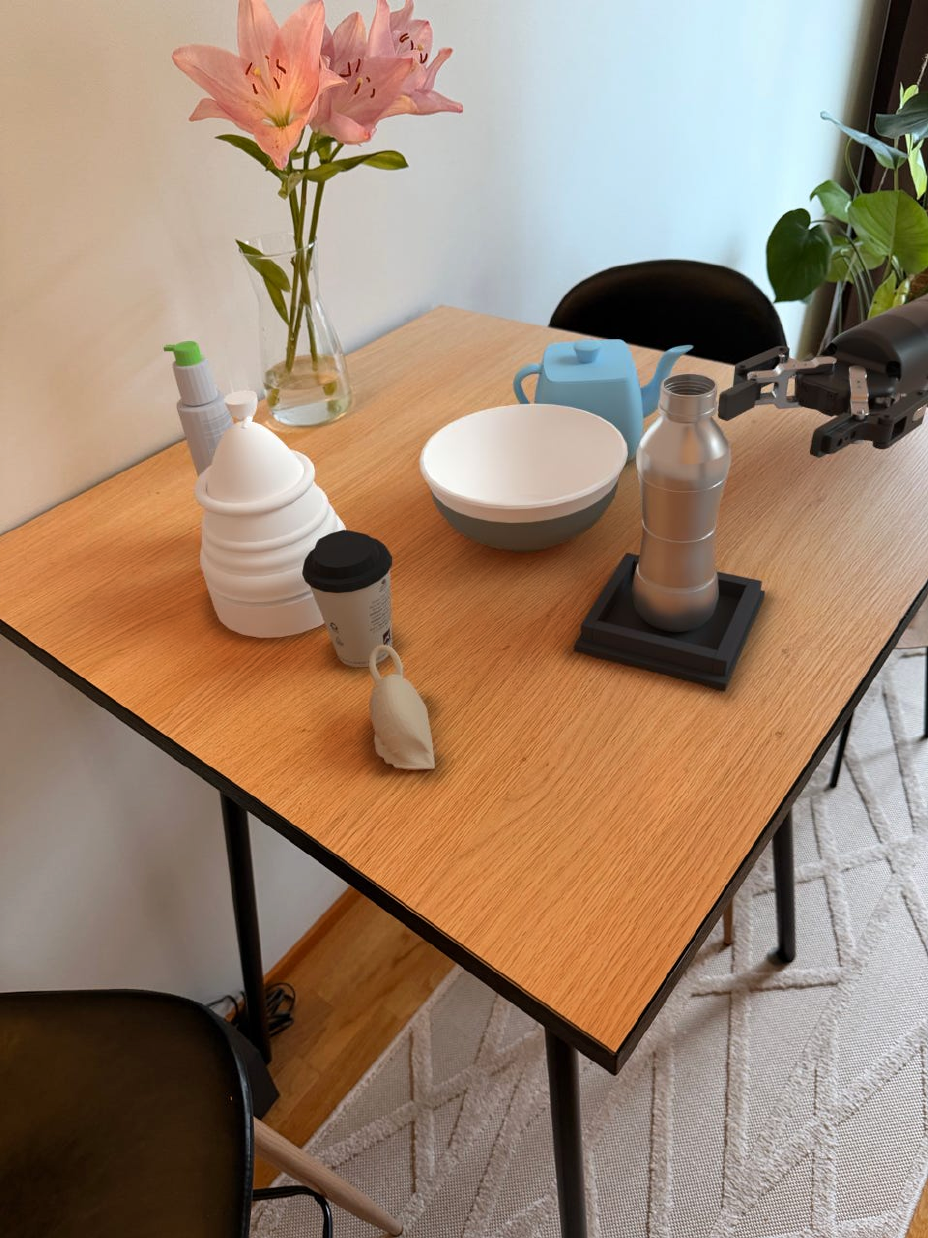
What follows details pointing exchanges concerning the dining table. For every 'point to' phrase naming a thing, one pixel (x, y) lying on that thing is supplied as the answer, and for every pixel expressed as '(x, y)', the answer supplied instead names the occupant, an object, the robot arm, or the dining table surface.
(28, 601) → the dining table surface
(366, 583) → the coffee cup
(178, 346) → the bottle
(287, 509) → the honey pot
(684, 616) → the silver metal bottle
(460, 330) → the dining table surface
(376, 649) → the decorative ornament
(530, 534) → the bowl
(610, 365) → the teapot
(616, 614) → the pad
